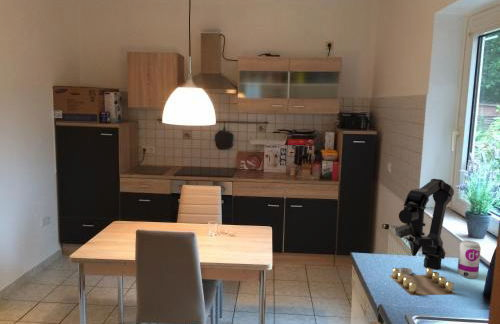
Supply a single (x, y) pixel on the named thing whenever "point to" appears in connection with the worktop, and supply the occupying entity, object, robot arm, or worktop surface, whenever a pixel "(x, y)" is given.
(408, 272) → the steel nut
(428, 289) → the board
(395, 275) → the brass spacers
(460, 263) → the supplement can
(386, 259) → the worktop surface
